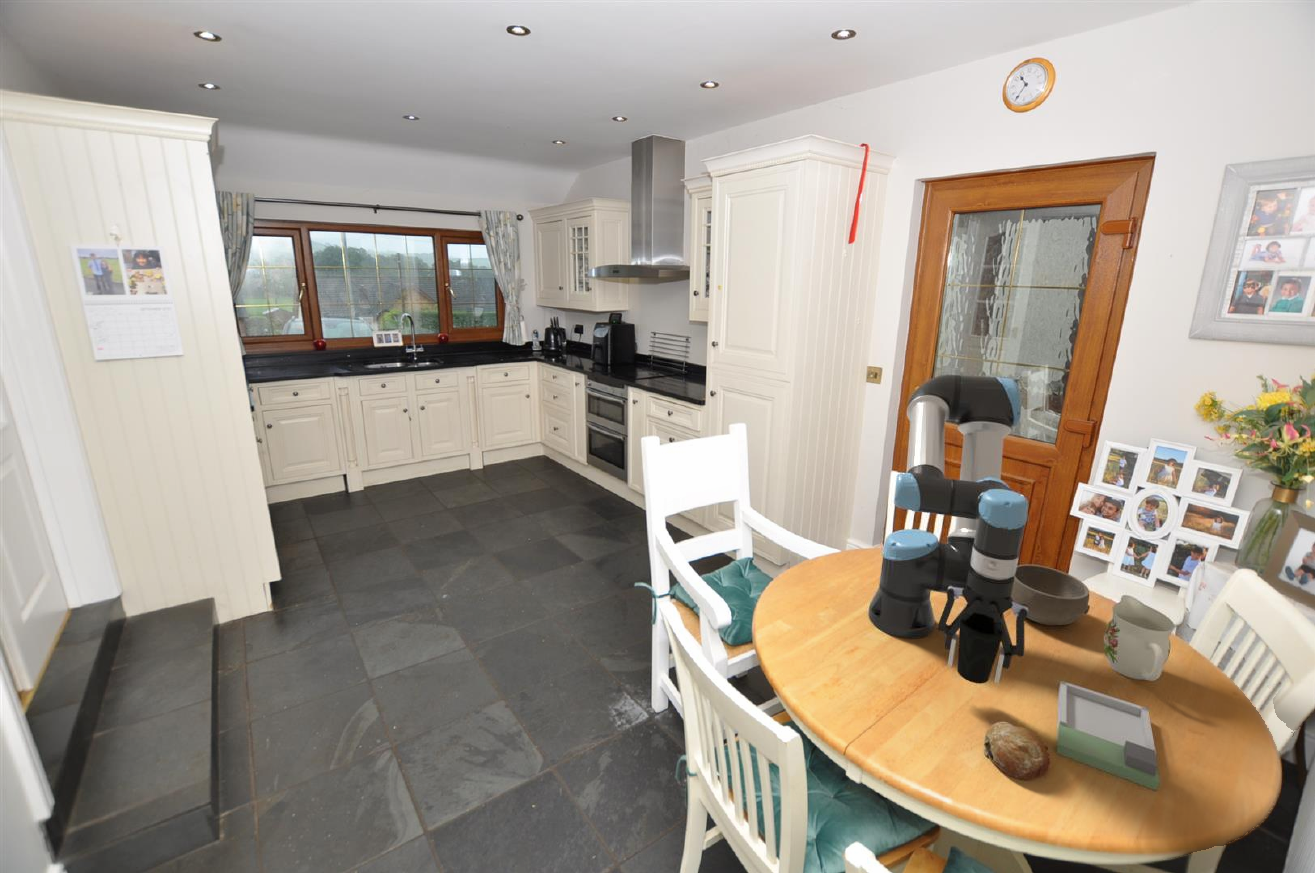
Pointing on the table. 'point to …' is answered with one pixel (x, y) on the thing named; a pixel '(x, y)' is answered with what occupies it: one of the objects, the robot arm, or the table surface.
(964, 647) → the cup
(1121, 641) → the pitcher
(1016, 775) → the bread roll
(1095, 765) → the green and grey tray
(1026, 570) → the bowl
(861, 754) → the table surface
